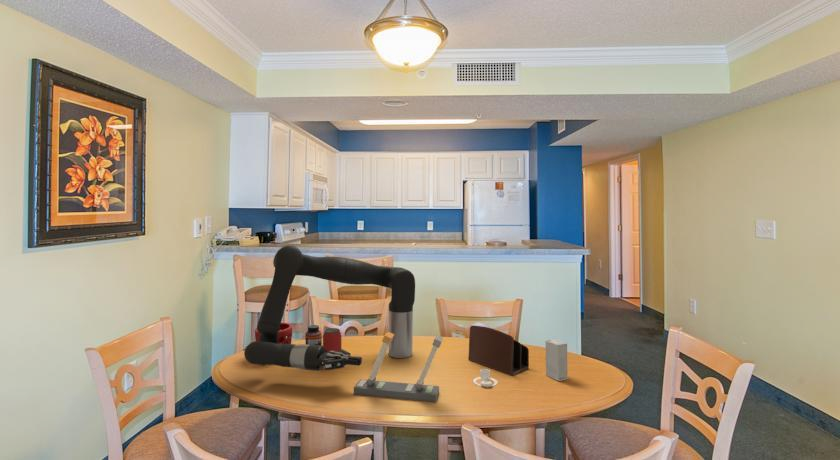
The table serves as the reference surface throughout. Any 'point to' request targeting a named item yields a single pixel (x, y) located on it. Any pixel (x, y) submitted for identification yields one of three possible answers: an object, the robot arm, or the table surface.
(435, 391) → the switch panel
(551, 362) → the skincare box
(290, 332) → the plant pot
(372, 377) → the orange switch
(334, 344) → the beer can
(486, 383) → the teacup and saucer
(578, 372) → the table surface
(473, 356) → the letter holder
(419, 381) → the grey switch
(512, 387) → the table surface
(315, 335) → the supplement bottle
